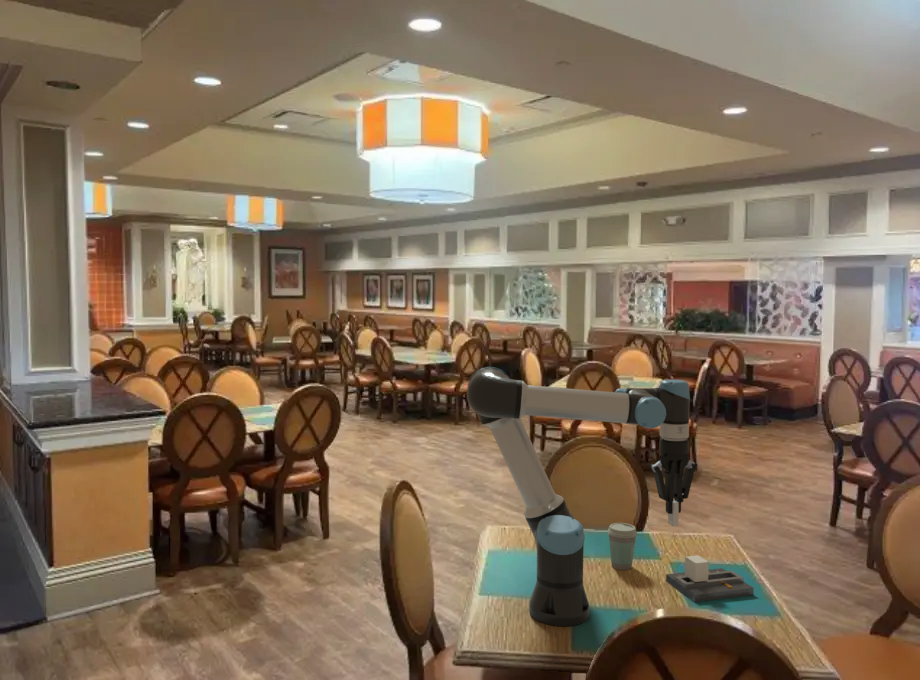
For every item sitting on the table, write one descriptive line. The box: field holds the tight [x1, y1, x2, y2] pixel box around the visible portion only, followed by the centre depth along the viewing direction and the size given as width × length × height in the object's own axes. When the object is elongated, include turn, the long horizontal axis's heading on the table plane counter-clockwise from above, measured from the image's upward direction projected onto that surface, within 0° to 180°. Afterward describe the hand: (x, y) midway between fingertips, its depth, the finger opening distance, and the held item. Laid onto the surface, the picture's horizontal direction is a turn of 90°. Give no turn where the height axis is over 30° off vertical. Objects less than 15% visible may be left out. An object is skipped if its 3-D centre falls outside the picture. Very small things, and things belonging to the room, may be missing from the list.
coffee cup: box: [607, 522, 638, 571], centre depth 214 cm, size 8×9×12 cm
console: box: [665, 567, 755, 603], centre depth 199 cm, size 18×14×3 cm
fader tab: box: [684, 554, 710, 582], centre depth 198 cm, size 4×5×6 cm
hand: (673, 524), depth 194 cm, fingers closed
